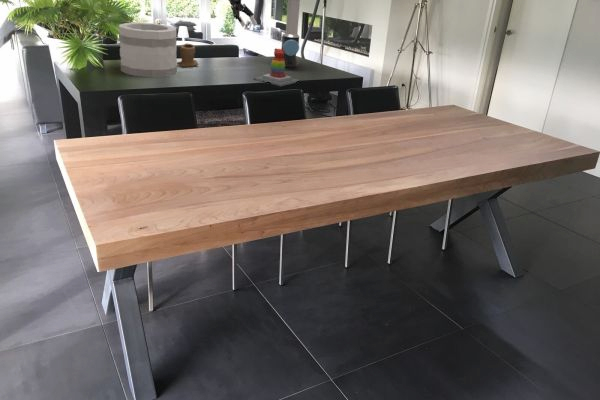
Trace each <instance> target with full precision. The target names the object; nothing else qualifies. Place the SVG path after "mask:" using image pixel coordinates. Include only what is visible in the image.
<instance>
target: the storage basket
mask: <svg viewBox="0 0 600 400" xmlns="http://www.w3.org/2000/svg"><path fill="white" fill-rule="evenodd" d="M118 30H119V31H118V32H119V33H118V42H119V45H120V48H119V56H120V71H121V72H122V73H124V74H126V75H129V76H130V75H131V76H135V77H144V78H165V77H171V76H175V75H176V74H177V70H178V66H177V65H178V64H177V62H178V60H177V53H178V52H177V50H178V49H177V29H176V27H174V26H170V25H166V24H159V23H151V22H147V23H146V22H125V23H120V24H118Z"/></svg>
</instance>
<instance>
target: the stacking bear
mask: <svg viewBox="0 0 600 400" xmlns="http://www.w3.org/2000/svg"><path fill="white" fill-rule="evenodd" d="M273 56H274V57H272V61H271V63H270V72H269V74H270V75H271V76H273V77H285V76H287V74H286V73H285V69H286V67H285V61H284V58H283V56H284V49H281V48H276V47H275V48H274V52H273Z"/></svg>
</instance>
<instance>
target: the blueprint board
mask: <svg viewBox="0 0 600 400" xmlns="http://www.w3.org/2000/svg"><path fill="white" fill-rule="evenodd" d="M254 79H258V80H262V81H267V82H270V83H271V84H270V85H274V86H277V87H283V86H288V85H292V84H296V82H297V81H299V82H300V79H296V78H294V77H293V78H292V76H289V75H286V76H285V77H273V76H271V75H270V73H267V74H262V75H260V76H255V77H253V80H254ZM297 83H298V82H297Z"/></svg>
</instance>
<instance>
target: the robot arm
mask: <svg viewBox="0 0 600 400" xmlns="http://www.w3.org/2000/svg"><path fill="white" fill-rule="evenodd" d="M228 2H229V4H230V9H231V10H232V14H233V18H234V19H235V20H237V21H238V22H239V23H240V25H241V27H242V28H243V27H245V26H246V23H245V21H244V20H243V18H242V16H240V15H241V13H244V14H245V15H247V16H248V18H249V20H250V22H251V23H252V25H253V26H254V27H255V26H256V25H258V23H257V20H256V19H255V17H254V14H255V13H254V12H252V10H251V9H249V7H248V6H247V4H246V3H243V4H242V0H228ZM300 3H301V0H287V6H286V7H287V9H286V24H285V26H286V27H285V33H284V34H282V37H281V48H280V49H284V56H283V58H284V61H285V68H297V67H298V59H297V54H298V52H299V50H300V36H299V34H298V31H299V18H300V17H299V16H300V5H301V4H300ZM240 12H241V13H240Z"/></svg>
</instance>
